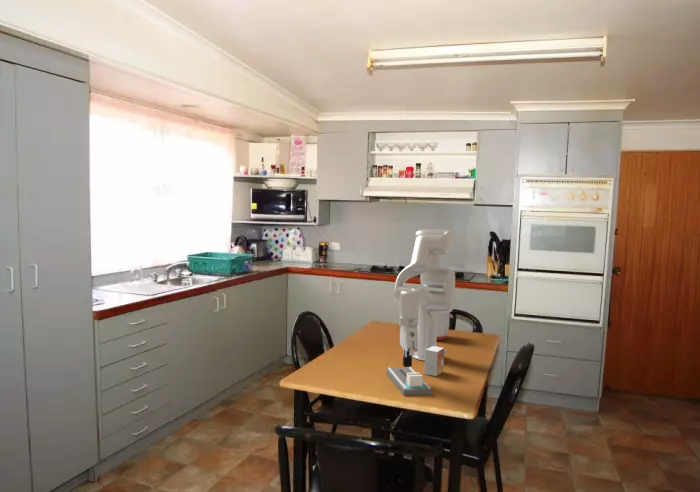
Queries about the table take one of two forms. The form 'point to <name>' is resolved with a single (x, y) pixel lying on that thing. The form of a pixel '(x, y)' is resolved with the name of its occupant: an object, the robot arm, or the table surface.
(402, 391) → the fader board
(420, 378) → the fader knob
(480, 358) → the table surface
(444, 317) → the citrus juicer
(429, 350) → the small box
